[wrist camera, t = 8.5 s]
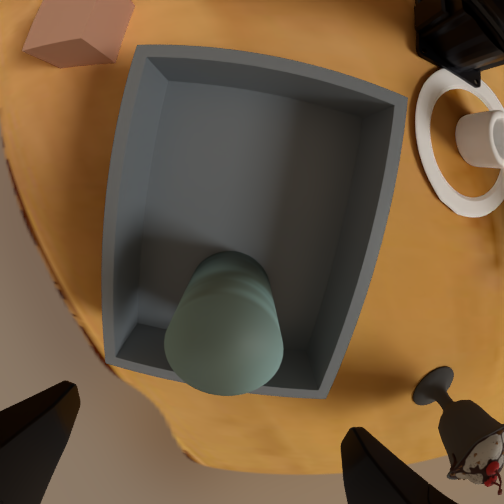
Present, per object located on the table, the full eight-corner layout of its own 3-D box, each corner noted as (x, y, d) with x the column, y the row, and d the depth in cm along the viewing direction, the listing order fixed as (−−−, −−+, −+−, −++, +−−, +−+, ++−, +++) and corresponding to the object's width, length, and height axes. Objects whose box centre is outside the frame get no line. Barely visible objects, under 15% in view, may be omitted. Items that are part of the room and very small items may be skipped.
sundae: (417, 364, 22) (504, 486, 7) (467, 354, 22) (552, 448, 7) (396, 415, 23) (453, 530, 9) (445, 403, 23) (507, 497, 9)
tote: (370, 113, 16) (407, 97, 11) (311, 354, 21) (325, 398, 16) (163, 73, 15) (137, 45, 11) (131, 324, 20) (105, 363, 15)
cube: (135, 6, 14) (110, -28, 9) (115, 63, 15) (81, 37, 10) (80, 14, 14) (48, -12, 9) (61, 68, 15) (21, 51, 10)
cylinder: (277, 258, 18) (296, 309, 11) (261, 329, 19) (269, 401, 12) (196, 244, 18) (167, 288, 11) (187, 317, 19) (162, 385, 12)
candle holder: (436, 238, 19) (471, 253, 15) (384, 82, 16) (415, 64, 12) (519, 190, 18) (551, 196, 14) (482, 64, 15) (512, 54, 11)
